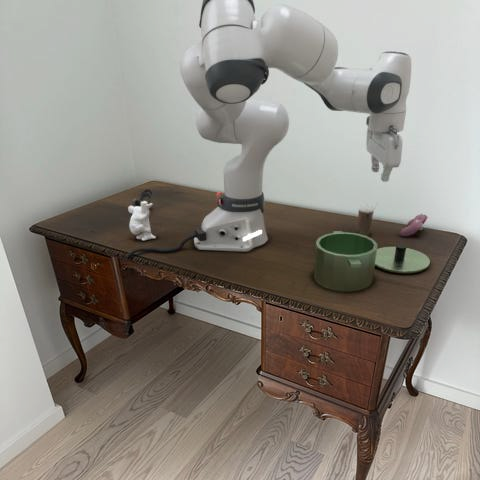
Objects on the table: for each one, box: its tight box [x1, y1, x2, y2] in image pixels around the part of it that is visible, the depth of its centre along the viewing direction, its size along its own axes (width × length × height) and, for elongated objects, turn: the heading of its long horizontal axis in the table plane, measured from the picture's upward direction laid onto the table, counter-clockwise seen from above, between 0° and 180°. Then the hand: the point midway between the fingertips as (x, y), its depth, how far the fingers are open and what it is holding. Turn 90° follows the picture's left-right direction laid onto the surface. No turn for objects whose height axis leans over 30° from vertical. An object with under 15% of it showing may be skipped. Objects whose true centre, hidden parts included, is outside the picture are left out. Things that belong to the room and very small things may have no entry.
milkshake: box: [357, 202, 378, 237], centre depth 140 cm, size 4×5×10 cm
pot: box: [313, 230, 379, 293], centre depth 117 cm, size 15×20×10 cm
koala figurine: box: [127, 201, 157, 242], centre depth 142 cm, size 8×7×12 cm
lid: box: [375, 243, 431, 274], centre depth 125 cm, size 16×16×5 cm
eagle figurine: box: [131, 188, 153, 210], centre depth 167 cm, size 8×7×9 cm
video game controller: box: [399, 213, 429, 237], centre depth 142 cm, size 10×5×7 cm, turn 148°
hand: (379, 176), depth 129 cm, fingers open, 8 cm apart
